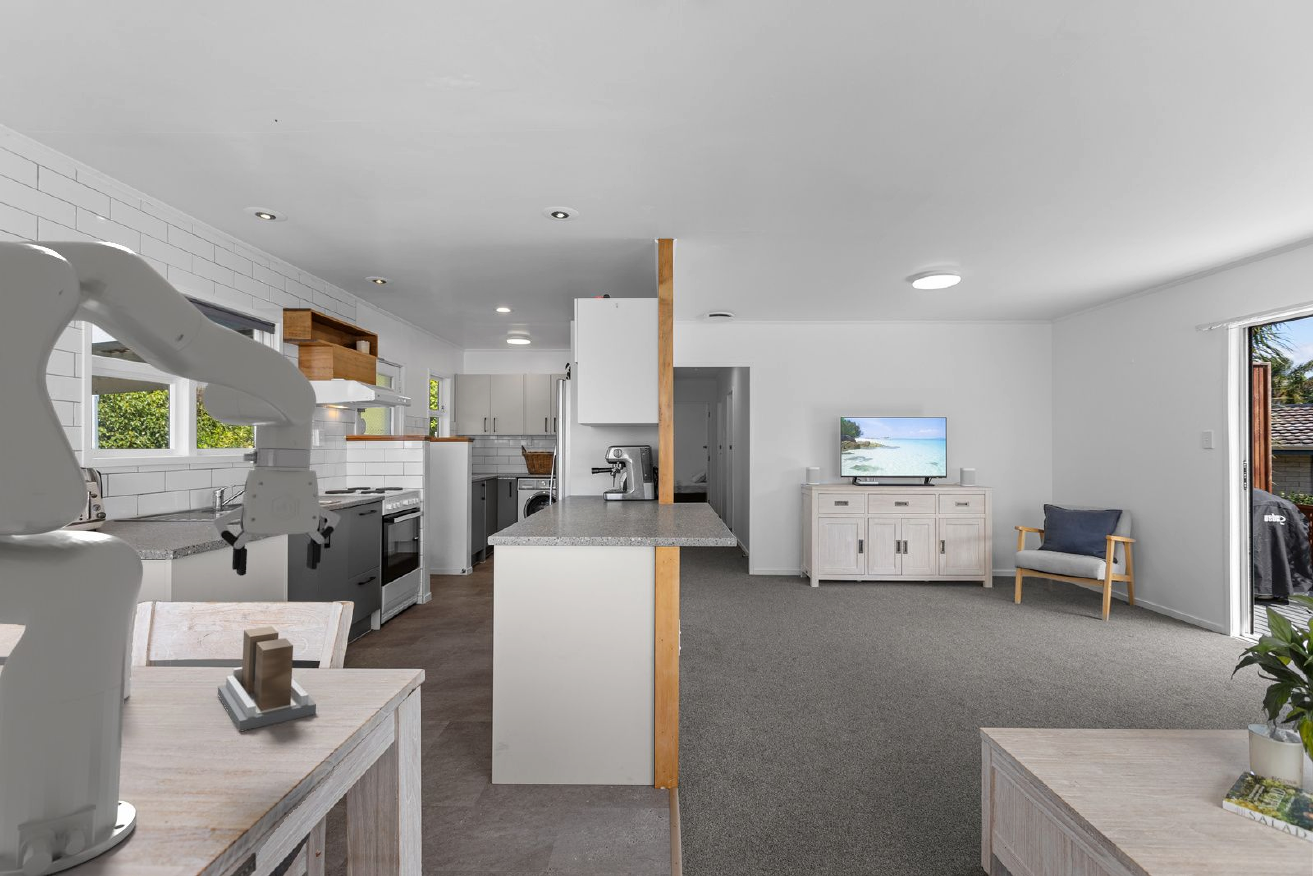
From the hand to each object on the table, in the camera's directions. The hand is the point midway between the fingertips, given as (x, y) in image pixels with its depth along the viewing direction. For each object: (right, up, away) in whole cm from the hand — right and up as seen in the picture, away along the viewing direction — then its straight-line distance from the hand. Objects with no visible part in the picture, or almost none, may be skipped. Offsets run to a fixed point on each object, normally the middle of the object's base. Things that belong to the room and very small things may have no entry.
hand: (277, 571), depth 99 cm
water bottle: (-30, -21, +2) cm, 37 cm away
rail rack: (-4, -22, +3) cm, 22 cm away
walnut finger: (0, -20, -1) cm, 20 cm away
